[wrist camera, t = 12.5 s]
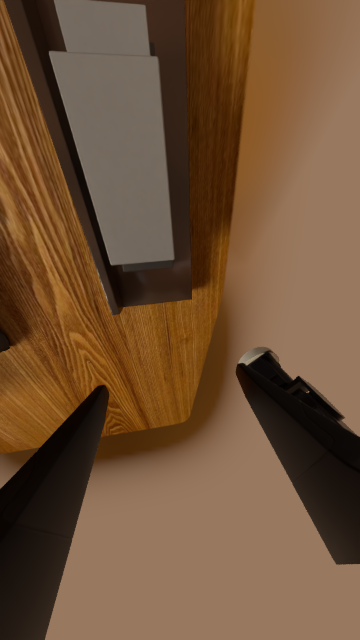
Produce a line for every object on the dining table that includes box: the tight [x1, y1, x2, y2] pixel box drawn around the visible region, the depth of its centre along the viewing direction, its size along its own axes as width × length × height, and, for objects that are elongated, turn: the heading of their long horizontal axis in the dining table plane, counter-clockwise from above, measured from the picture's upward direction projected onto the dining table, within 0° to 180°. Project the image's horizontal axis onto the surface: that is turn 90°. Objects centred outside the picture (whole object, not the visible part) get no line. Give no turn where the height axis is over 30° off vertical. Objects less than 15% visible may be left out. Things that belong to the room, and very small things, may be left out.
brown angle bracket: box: [4, 0, 192, 315], centre depth 12 cm, size 20×9×4 cm, turn 4°
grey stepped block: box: [49, 0, 175, 272], centre depth 9 cm, size 12×5×5 cm, turn 4°
